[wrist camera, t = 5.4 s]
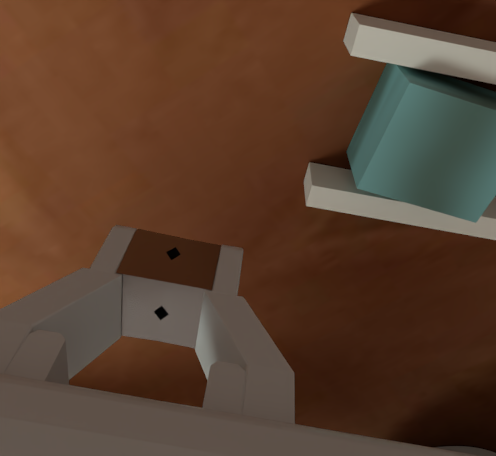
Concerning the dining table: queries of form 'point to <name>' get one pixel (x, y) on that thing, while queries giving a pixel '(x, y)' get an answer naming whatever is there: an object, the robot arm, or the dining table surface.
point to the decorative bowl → (468, 450)
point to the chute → (420, 57)
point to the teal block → (428, 142)
